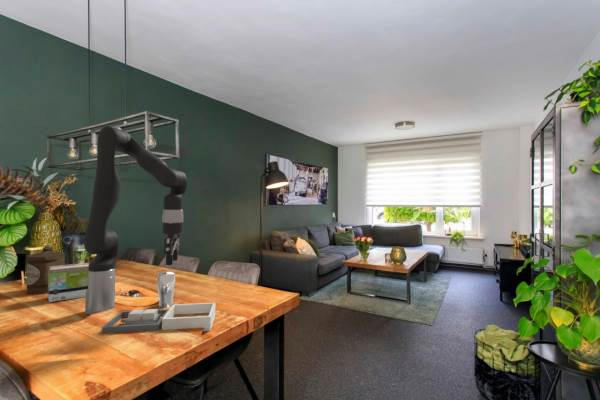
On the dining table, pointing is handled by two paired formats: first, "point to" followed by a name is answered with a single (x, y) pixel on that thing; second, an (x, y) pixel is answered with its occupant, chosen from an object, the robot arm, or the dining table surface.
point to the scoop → (141, 321)
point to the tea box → (67, 281)
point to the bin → (189, 322)
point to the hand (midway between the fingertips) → (171, 262)
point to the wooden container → (41, 269)
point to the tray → (131, 328)
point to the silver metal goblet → (166, 288)
